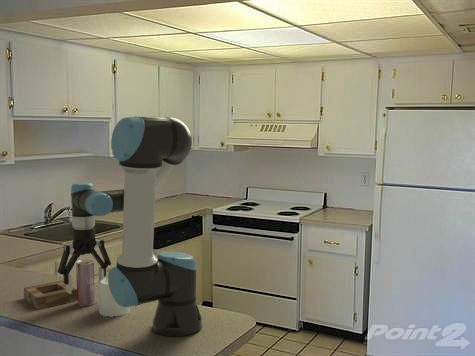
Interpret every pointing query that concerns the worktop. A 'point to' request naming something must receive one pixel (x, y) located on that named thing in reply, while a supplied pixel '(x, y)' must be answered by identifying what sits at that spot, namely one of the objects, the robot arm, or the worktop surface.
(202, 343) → the worktop surface
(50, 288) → the socket block
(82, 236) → the robot arm
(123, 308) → the mug
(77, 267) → the beverage can
